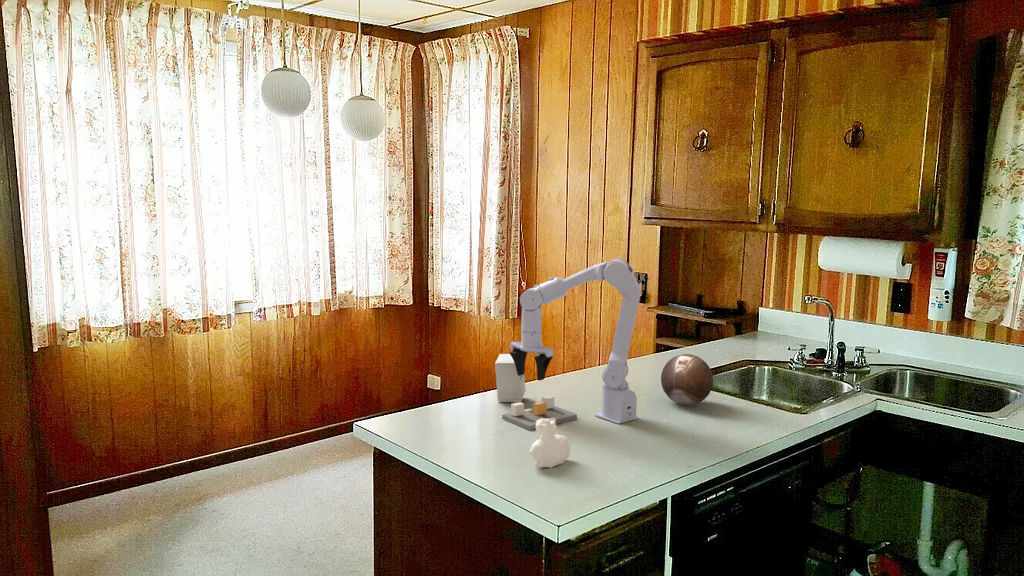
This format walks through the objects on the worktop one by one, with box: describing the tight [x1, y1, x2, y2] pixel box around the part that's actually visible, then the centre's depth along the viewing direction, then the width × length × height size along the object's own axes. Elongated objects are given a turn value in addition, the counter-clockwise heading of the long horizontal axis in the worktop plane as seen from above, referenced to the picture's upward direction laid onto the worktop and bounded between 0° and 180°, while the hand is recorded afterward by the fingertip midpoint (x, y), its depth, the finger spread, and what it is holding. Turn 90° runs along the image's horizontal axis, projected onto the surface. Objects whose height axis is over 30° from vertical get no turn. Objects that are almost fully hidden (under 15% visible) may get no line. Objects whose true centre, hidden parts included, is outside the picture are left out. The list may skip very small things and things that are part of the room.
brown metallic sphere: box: [660, 353, 714, 406], centre depth 215 cm, size 15×15×15 cm
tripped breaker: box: [532, 400, 546, 415], centre depth 201 cm, size 2×3×3 cm, turn 128°
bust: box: [529, 418, 572, 469], centre depth 169 cm, size 12×8×11 cm
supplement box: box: [494, 353, 526, 403], centre depth 217 cm, size 7×7×13 cm
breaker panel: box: [501, 395, 578, 431], centre depth 201 cm, size 12×17×4 cm
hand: (530, 377), depth 208 cm, fingers open, 7 cm apart
